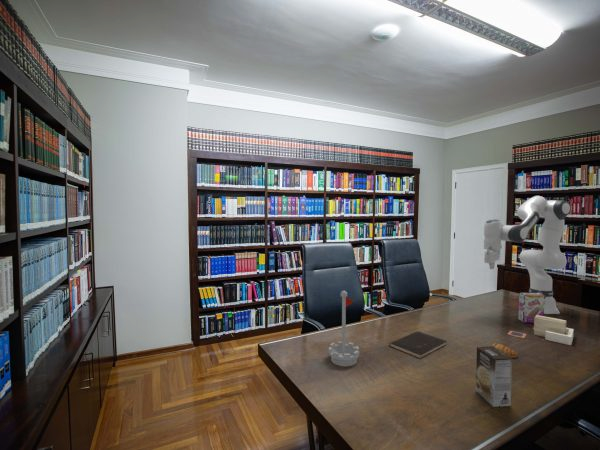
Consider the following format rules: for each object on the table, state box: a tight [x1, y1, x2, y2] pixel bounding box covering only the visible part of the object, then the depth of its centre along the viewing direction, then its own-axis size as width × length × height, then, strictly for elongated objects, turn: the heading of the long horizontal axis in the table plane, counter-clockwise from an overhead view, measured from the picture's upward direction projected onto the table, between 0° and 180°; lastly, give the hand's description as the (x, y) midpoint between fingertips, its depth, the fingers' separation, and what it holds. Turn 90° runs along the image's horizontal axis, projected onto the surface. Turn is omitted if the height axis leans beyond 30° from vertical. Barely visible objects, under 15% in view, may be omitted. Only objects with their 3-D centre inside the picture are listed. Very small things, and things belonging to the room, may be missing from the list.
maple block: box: [533, 315, 567, 338], centre depth 153 cm, size 6×12×9 cm, turn 45°
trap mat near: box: [507, 330, 527, 339], centre depth 155 cm, size 7×7×1 cm
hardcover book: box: [389, 330, 448, 359], centre depth 143 cm, size 16×23×2 cm
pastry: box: [491, 342, 518, 359], centre depth 134 cm, size 9×7×4 cm
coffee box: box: [475, 345, 513, 408], centre depth 101 cm, size 9×6×16 cm
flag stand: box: [328, 290, 360, 367], centre depth 128 cm, size 13×13×30 cm
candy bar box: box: [517, 292, 545, 324], centre depth 173 cm, size 11×5×16 cm, turn 84°
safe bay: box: [544, 327, 575, 346], centre depth 150 cm, size 14×10×4 cm
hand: (491, 268), depth 183 cm, fingers closed
